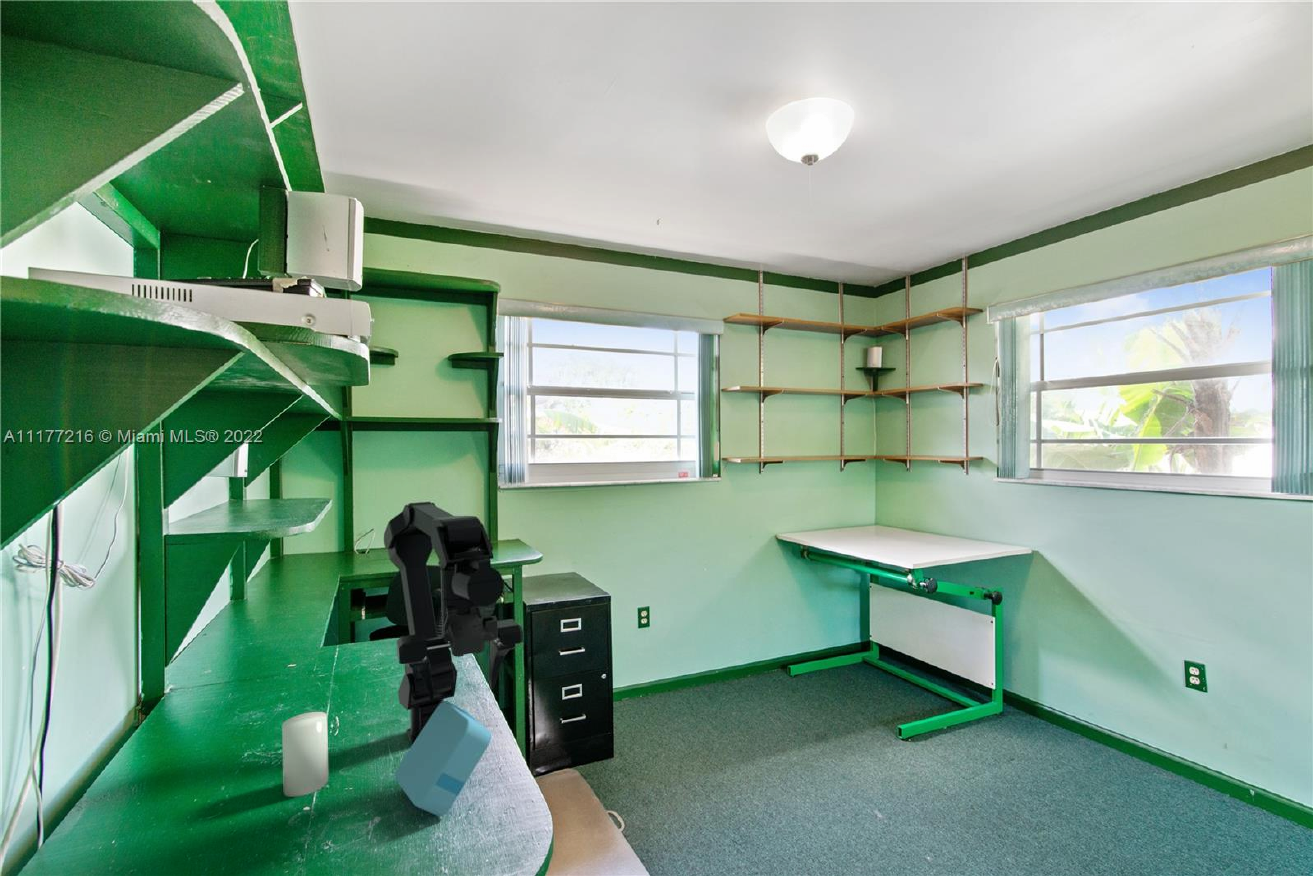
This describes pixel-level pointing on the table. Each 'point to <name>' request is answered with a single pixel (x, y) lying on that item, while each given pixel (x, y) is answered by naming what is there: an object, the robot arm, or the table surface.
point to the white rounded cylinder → (305, 754)
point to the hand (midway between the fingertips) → (462, 694)
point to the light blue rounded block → (442, 758)
